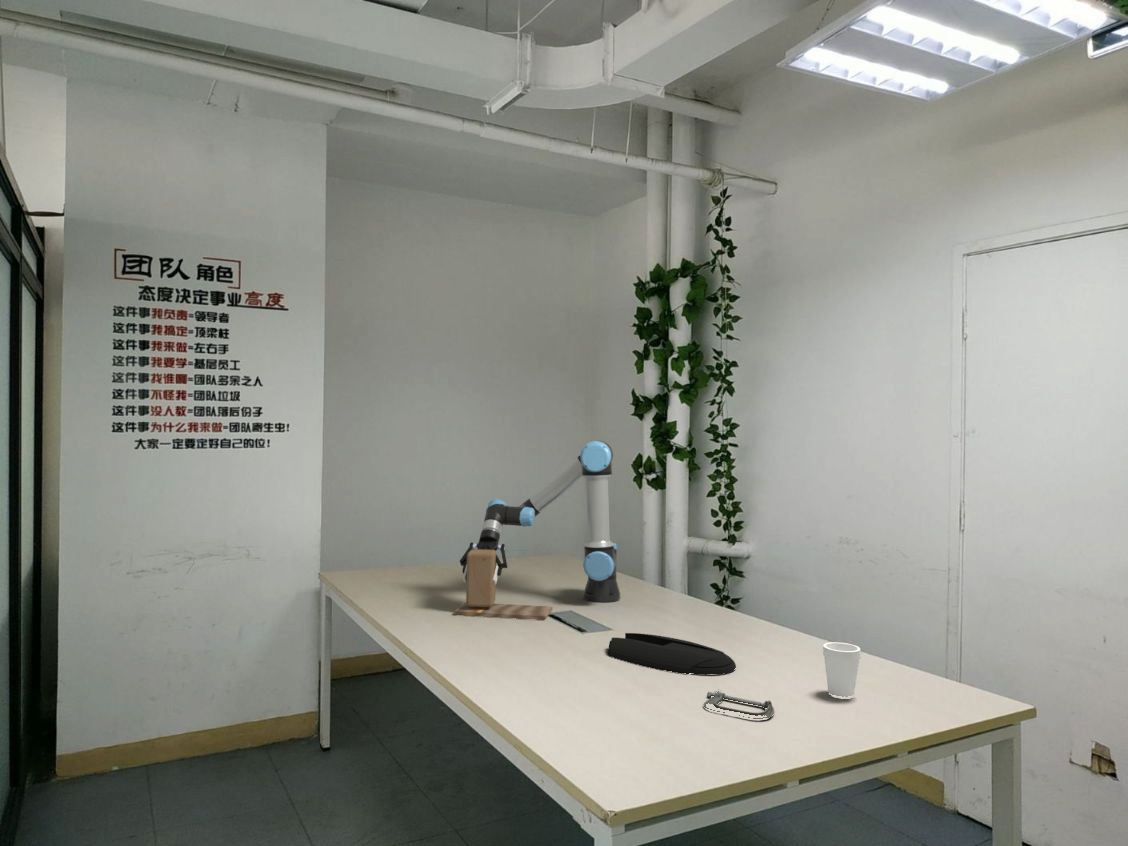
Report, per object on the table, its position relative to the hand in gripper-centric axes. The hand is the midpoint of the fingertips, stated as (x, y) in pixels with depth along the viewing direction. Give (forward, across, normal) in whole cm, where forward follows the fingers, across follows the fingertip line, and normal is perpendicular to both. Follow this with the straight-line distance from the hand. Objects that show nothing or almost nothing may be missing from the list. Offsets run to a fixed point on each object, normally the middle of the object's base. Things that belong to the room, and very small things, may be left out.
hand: (479, 581), depth 303 cm
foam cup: (+57, -118, +40) cm, 137 cm away
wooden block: (+5, 0, -9) cm, 10 cm away
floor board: (+6, -9, -10) cm, 15 cm away
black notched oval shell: (+40, -73, +22) cm, 86 cm away
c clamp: (+67, -91, +50) cm, 123 cm away
